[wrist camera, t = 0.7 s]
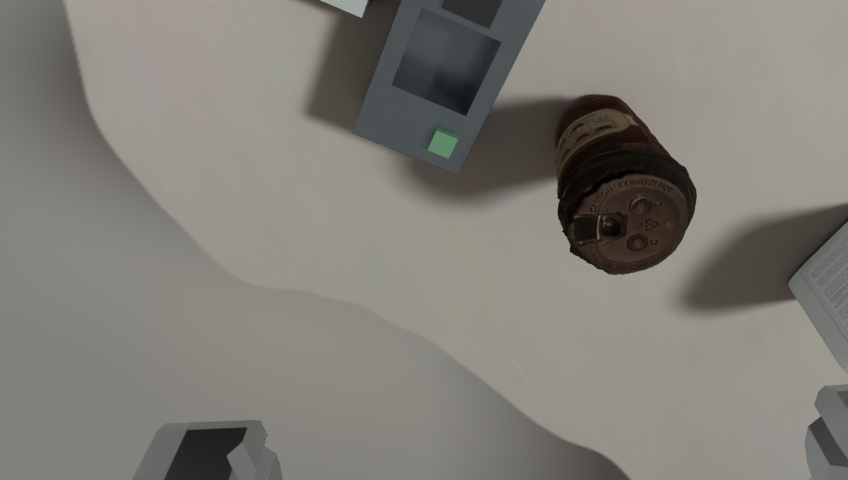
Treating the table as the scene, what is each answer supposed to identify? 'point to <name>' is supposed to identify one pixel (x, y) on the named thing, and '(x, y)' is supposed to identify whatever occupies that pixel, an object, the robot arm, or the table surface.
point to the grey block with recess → (443, 75)
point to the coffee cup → (618, 188)
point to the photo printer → (827, 293)
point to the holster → (350, 6)
